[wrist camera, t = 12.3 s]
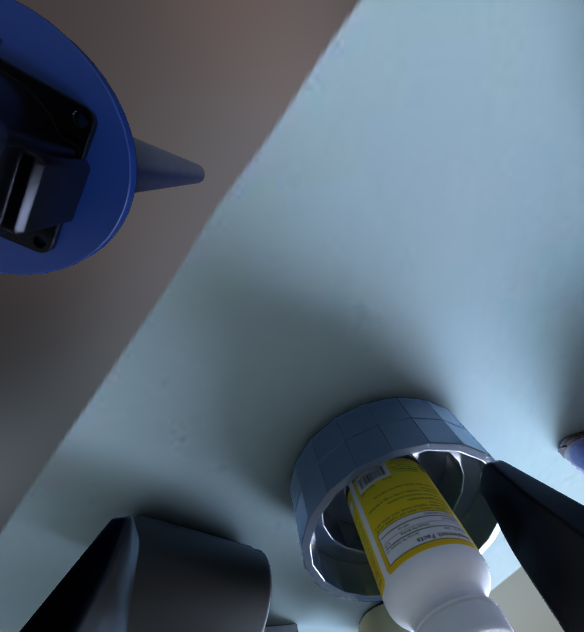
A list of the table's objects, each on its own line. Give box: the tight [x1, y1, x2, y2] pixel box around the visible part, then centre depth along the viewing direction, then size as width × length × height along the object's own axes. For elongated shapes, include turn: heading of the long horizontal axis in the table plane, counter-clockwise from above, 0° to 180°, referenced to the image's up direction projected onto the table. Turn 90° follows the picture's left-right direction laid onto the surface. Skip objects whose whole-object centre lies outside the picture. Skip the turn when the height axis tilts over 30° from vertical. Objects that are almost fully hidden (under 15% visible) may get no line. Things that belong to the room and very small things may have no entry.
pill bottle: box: [344, 454, 514, 632], centre depth 21 cm, size 6×6×11 cm
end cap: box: [126, 515, 272, 632], centre depth 23 cm, size 10×7×7 cm
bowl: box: [290, 398, 500, 602], centre depth 25 cm, size 14×14×5 cm
